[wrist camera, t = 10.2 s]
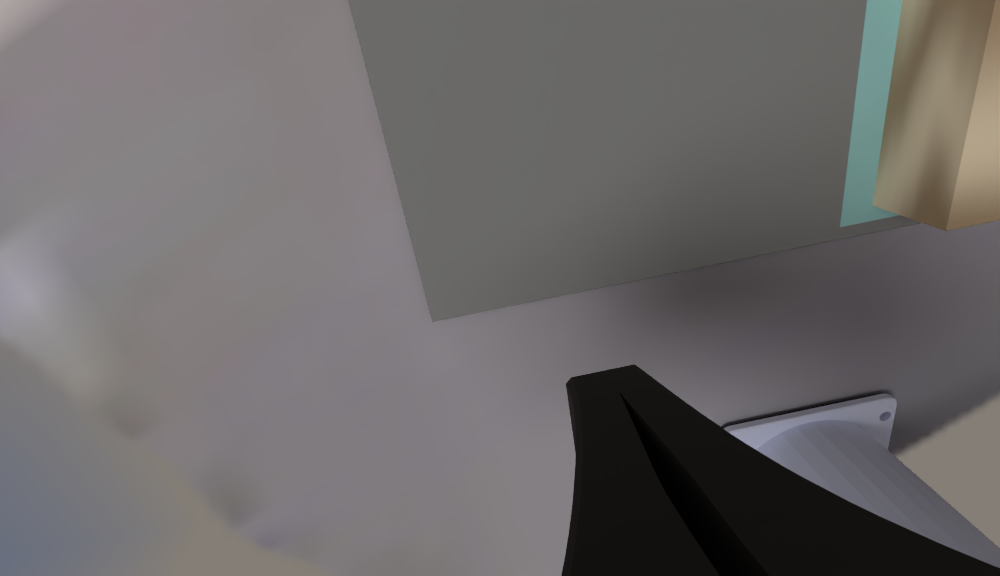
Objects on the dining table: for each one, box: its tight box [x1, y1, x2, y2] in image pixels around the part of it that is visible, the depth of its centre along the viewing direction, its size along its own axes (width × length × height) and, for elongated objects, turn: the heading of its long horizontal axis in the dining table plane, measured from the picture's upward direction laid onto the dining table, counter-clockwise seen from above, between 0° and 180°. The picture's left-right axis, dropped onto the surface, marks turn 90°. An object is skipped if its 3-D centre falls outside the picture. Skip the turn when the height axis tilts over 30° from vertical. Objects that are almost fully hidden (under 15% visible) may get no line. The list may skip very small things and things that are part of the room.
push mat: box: [349, 0, 921, 322], centre depth 16 cm, size 14×30×1 cm, turn 100°
